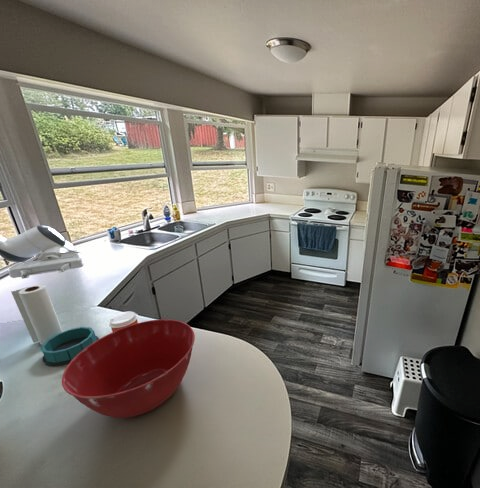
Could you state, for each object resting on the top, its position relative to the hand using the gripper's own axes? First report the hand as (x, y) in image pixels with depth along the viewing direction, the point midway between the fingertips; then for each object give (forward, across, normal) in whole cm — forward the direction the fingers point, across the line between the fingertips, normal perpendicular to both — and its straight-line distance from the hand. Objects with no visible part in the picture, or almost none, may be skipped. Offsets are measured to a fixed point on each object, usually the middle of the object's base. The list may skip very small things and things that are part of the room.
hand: (42, 273), depth 93 cm
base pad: (+23, +8, +22) cm, 33 cm away
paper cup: (+34, +25, +22) cm, 47 cm away
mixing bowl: (+55, +29, +22) cm, 66 cm away
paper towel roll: (+12, 0, +22) cm, 25 cm away
